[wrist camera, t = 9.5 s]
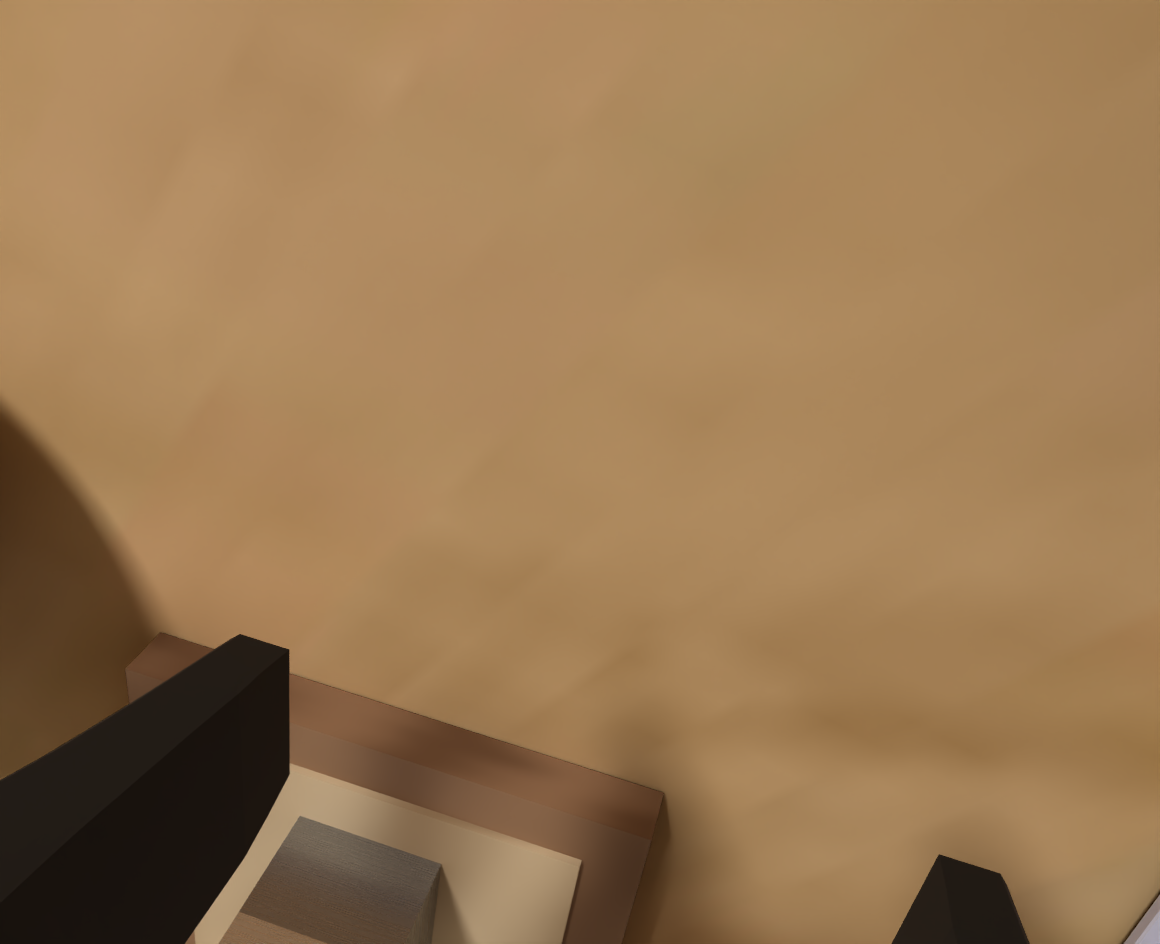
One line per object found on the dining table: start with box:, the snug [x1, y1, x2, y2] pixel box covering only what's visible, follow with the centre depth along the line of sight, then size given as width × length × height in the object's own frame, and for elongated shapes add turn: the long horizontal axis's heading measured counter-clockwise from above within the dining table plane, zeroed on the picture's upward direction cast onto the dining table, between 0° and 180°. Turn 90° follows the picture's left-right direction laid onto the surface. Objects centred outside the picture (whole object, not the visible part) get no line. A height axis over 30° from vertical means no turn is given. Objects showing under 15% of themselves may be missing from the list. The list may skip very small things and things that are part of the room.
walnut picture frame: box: [125, 633, 664, 944], centre depth 30 cm, size 14×14×2 cm
